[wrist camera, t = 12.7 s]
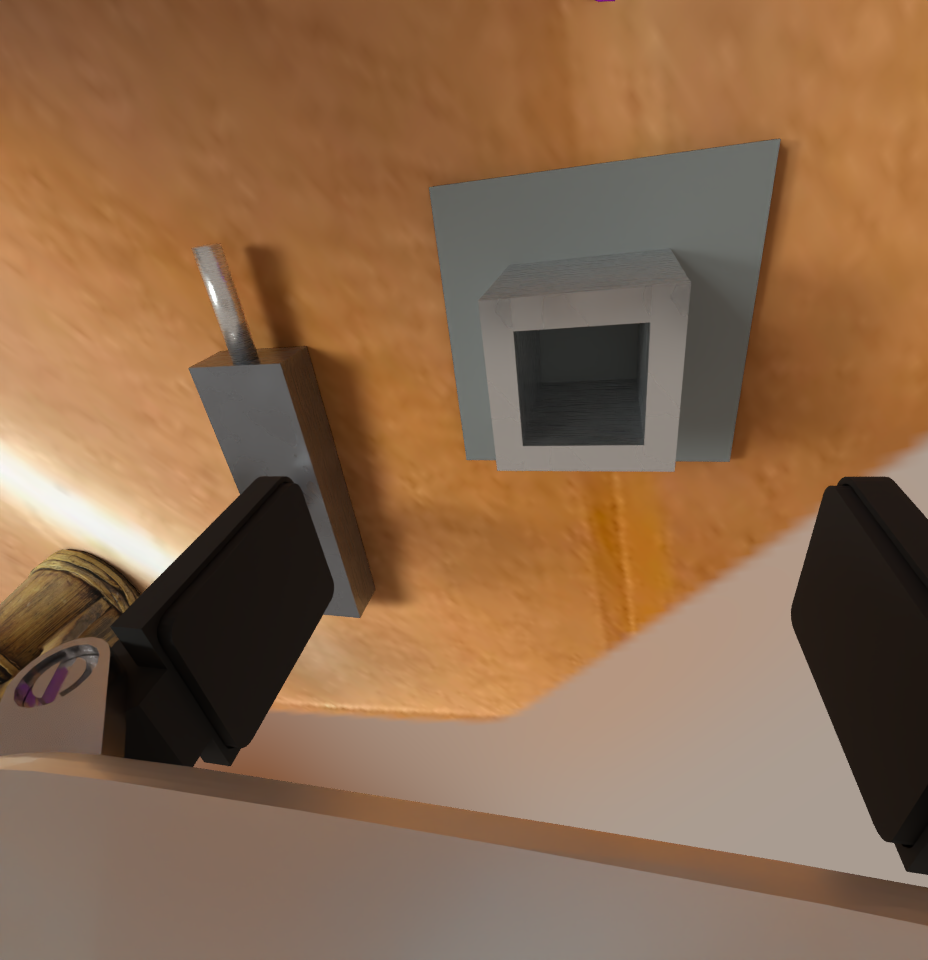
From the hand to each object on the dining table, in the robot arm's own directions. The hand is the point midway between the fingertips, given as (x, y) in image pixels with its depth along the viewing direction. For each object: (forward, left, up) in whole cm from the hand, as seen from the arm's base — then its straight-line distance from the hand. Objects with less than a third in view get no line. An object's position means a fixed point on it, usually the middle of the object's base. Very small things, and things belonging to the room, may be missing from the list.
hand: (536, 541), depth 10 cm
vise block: (+6, -15, -15) cm, 22 cm away
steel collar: (0, 0, -14) cm, 14 cm away
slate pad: (0, +1, -15) cm, 15 cm away
